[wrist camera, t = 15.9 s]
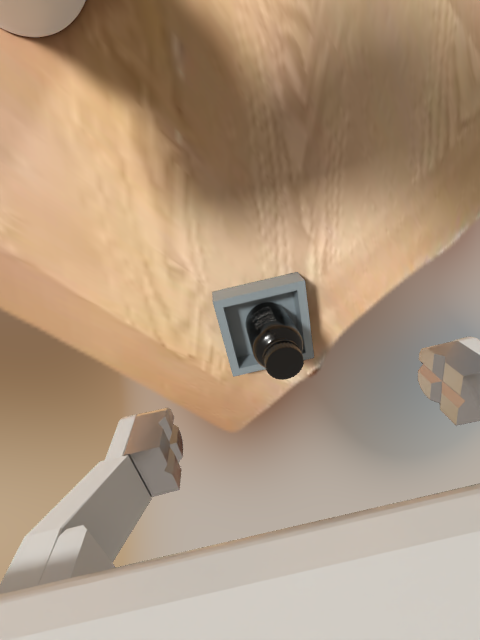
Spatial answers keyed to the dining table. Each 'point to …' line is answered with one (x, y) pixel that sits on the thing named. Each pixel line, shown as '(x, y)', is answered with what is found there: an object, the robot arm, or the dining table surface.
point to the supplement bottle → (275, 340)
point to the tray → (243, 298)
